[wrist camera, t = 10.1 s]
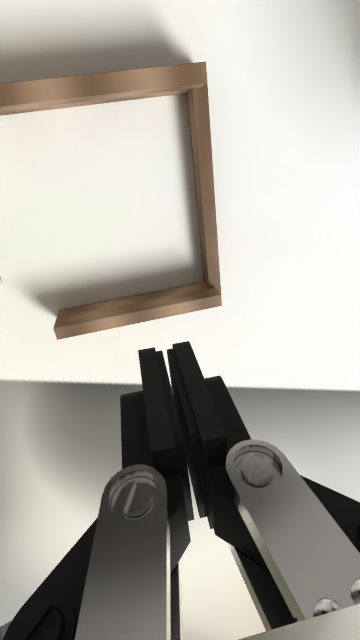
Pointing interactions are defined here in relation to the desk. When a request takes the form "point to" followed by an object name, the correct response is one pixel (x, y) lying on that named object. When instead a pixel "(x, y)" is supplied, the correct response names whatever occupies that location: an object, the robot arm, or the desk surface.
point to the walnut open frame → (195, 85)
